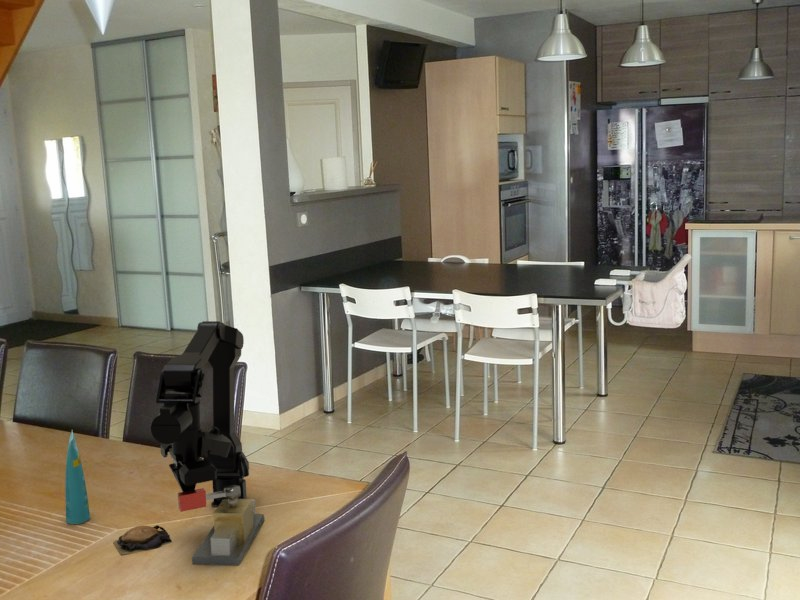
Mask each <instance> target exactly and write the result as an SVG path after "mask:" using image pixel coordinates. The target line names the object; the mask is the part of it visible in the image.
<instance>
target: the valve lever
mask: <svg viewBox="0 0 800 600" xmlns="http://www.w3.org/2000/svg"><path fill="white" fill-rule="evenodd" d="M206 492H207V491H206V489H205V488H204V487H201V488H197V489H196V488H195V490H191V491H185V492H182V491H181V492H177V502H178V503H177V504H178V510H179V511H180V512H187V511H191V510H196V509H201V508H206V507H207V501H209V500H214V499H215V498H220V497H225V498H227V499H235V498H238V497H240V496H241V491H240V486H238V485H230V486H227V487H225V488H224V491H219V492H213V491H212V492H208V493H206Z"/></svg>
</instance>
